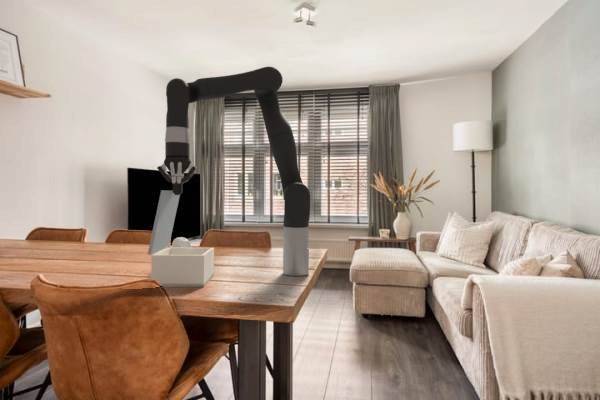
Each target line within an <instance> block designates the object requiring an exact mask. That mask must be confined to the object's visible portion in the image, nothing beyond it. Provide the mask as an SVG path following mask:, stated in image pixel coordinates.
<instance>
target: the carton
mask: <svg viewBox="0 0 600 400" xmlns="http://www.w3.org/2000/svg"><path fill="white" fill-rule="evenodd" d="M150 256H151V265H150V266H151V268H150V273H151V274H150V275H151V277H150V278H151V279H154V280H156V281H158V282H159V283H160V284H161V285H162V286H163V287H162V288H204V287H206V285H207V284H208V283H209V282H210V281H211V280H212V278H213V277H214V276H215V247H191V248H172V247H167V248H165V249H163V250H161V251H158V252H156V253H154V254H152V255H150ZM151 279H150V280H151Z"/></svg>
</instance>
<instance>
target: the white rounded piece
mask: <svg viewBox="0 0 600 400" xmlns="http://www.w3.org/2000/svg"><path fill="white" fill-rule="evenodd" d="M171 245H172V247H171V248H192V244H191V242H190V241H189V240H188V239H187V238H186V237H183V236H180V237H176V238H174V239H173V241H172V244H171Z"/></svg>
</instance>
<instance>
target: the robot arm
mask: <svg viewBox="0 0 600 400" xmlns="http://www.w3.org/2000/svg"><path fill="white" fill-rule="evenodd" d="M282 85H283V75H282V73H281V71H280V70H279V69H278V68H275V67H273V66H263V67H260V68H257V69H253V70H249V71H246V72H241V73H237V74H231V75H222V76H212V77H211V76H210V77H202V78H198V79H196V80H194V81H191V82H186V81H185V80H183V79H182V78H179V77H178V78H172V79H170V80H169V82H168V83H167V84H166V87H165V89H166V91H165V96H166V106H167V107H166V109H167V111H166V116H165V118H166V121H165V122H166V123H165V125H166V126H165V137H164V141H165V147H164V149H165V155H164V156H165V159H164V161H163V163H162V164H161V165H159V166H157V170H158V171H159V172H160V174H161V175H162V177H163V178H164V179H165V180H166V181H167V182H169V183H171V184H172V191H173V193H175V195H180V196H181V194H183V191H184V190H183V185H184V183H187V182H189V180H190V179H192V177H193V176H194V175H195V173H196V172H197V170H198V167H196V166H194V165H193V164H192V161H191V159H190V141H191V140H190V137H191V136H190V126H189V125H190V124H189V123H190V119H189V105H190V104H192V103H196V102H199V101H207V100H215V99H222V98H226V97H230V96H233V95H237V94H239V93H243V92H249V91H254V95H255V96H256V99H257V102H258V104H259V108H260V110H261V113H262V118H263V122H264V127H265V130H266V134H267V139H268V143H269V146H270V150H271V153H272V157H273V159H274V162H275V165H276V169H277V170H278V173H279V178H280V182H281V183H280V184H281V187H282V188H281V189H282V198H283V201H284V206H283V207H284V213H283V215H284V216H283V228H282V229H283V237H282V239H283V240H282V242H283V244H282V246H283V248H282V251H283V252H282V273H283V275H285V276H290V277H301V276H302V277H303V276H309V274H310V273H309V272H310V271H309V269H310V268H309V266H310V264H309V263H310V260H309V259H310V248H309V230H310V229H309V227H310V226H309V225H310V218H311V193H310V192H311V191H310V189H309V188H308V187H307V186H306V185H305V184H304V183H303V180H302V177H301V174H300V171H299V166H298V165H299V164H298V153H297V147H296V146H297V145H296V140H295V137H294V134H293V133H294V132H293V129H292V127H291V125H290V122H289V120H287V118H286V116H285V115H284V113H283V111H282V109H281V106H280V102H279V96H278V91H279V90H280V88H281V87H282ZM167 170H168V171H169V172H170V174H169V173H168V171H167ZM187 171H188V172H187ZM186 172H187V173H186ZM185 173H186V175H185Z"/></svg>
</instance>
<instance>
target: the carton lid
mask: <svg viewBox="0 0 600 400" xmlns="http://www.w3.org/2000/svg"><path fill="white" fill-rule="evenodd" d="M180 197H181V195H175V193H173V190H164V189H162V190H160V195H159V198H158V199H159V200H158V203H157V209H156V214H155V218H154V222H153V226H152V227H153V228H152V231H151V236H150V241H149V245H148V251H147V255H149V256H151V255H153V254H155V253H158V252H160V251H162V250H164V249H166V248H170V244H171V243H170V242H171V238H172V233H173V231H174V230H173V228H174V224H175V219H176V215H177V210H178V207H179V201H180Z"/></svg>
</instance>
